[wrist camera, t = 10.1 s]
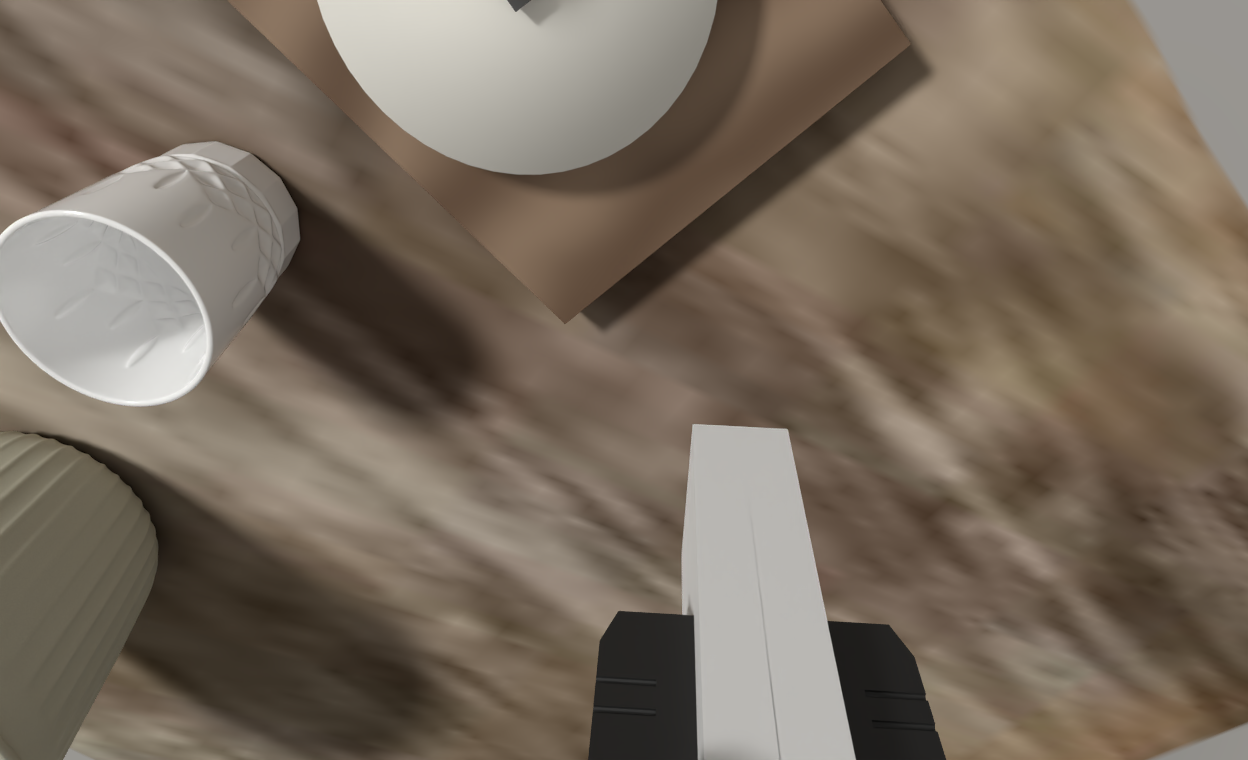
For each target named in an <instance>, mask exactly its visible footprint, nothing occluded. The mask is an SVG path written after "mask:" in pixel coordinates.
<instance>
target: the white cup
mask: <svg viewBox="0 0 1248 760" xmlns="http://www.w3.org/2000/svg"><path fill="white" fill-rule="evenodd" d="M299 242H300V230H299V219H298V209H297V207H296V205H295V203H294V201H293V200H292V198H291V196H290V194H289V192H288V191H287V189H286V187H285V185H284V184H283V182H282V180H281V178H280V177H279V176H278V175H276V174H275V173H274V172H273V171H272V170H271V169H269V168H268V167H267V166H266V165H265V164H263V163H262V162H261V161H260V160H259V159H257V158H256V157H255V156H254V155H253V154H251V153H249V152H246V151H243V150H240V149H237V148H235V147H232V146H229V145H226V144H223V143H220V142H217V141H213V142H202V143H191V144H183V145H181V146H178V147H176V148H174V149H173V150H171V151H169V152H167V153H165V154H163V155H161V156H159V157H156V158H153V159H150V160H147V161H144V162H141V163H138V164H136V165H133V166H131V167H129V168H127V169H125V170H123V171H121V172H118V173H115V174H113V175H111V176H108V177H106V178H104V179H102V180H100V181H98V182H96V183H94V184H92V185H90V186H88V187H86V188H84V189H82V190H80V191H78V192H75V193H73V194H71V195H69V196H67V197H65V198H63V199H61V200H59V201H57V202H55V203H53V204H51V205H49V206H46V207H44V208H42V209H40V210H38V211H36V212H34V213H32V214H30V215H27V216H25V217H23V218H21V219H19V220H18V221H16V222H14V223H13V224H12V225H10V226H9V227H8V228H7V229H6V230H5V231H4V232H3V233H2V234H1V235H0V321H1V323H2V324H3V326H4V328H5V329H6V331H7V332H8V334H9V335H10V337H11V338H12V339H13V341H14V342H15V343H16V344H17V346H18V347H19V348H20V349H21V350H22V351H23V352H24V353H25V354H26V355H27V356H28V357H29V358H30V359H31V360H32V361H33V362H34V363H35V364H36V365H37V366H38V367H40V368H41V369H42V370H43V371H45V372H46V373H47V374H49V375H50V376H52V377H53V378H54V379H56V380H58V381H59V382H61V383H62V384H64V385H66V386H68V387H70V388H71V389H73V390H75V391H77V392H80V393H82V394H84V395H87V396H89V397H92V398H95V399H98V400H101V401H104V402H108V403H112V404H117V405H124V406H136V407H144V406H155V405H161V404H165V403H168V402H171V401H174V400H176V399H179V398H181V397H182V396H184V395H186V394H187V393H189V392H190V391H191V390H193V389H194V388H195V387H196V386H197V385H198V384H199V383H200V382H201V380H202V379H203V378H204V376H205V375H206V374H207V373H208V371H209V370H210V369H211V367H212V366H213V365H214V364H215V362H216V361H217V360H218V359H219V357H220V356H221V355H222V354H223V352H224V351H225V350H226V349H227V347H228V346H229V345H230V344H231V342H232V341H233V340H234V338H235V337H236V336H237V335H238V333H239V332H240V331H241V330H242V328H243V327H244V326H245V325H246V323H247V322H248V321H249V320H250V318H251V317H252V316H253V314H254V313H255V312H256V310H257V309H258V307H259V306H260V304H261V303H262V302H263V301H264V299H265V298H266V296H267V295H268V294H269V292H270V291H271V289H272V288H273V286H274V285H275V283H276V281H277V279H278V278H279V277H280V275H281V274H282V273H283V272H284V270H285V269H286V268H287V267H288V265H289V263H290V261H291V259H292V257H293V255H294V252H295V250H296V248H297V246H298V244H299Z"/></svg>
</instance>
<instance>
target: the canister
mask: <svg viewBox="0 0 1248 760" xmlns="http://www.w3.org/2000/svg"><path fill="white" fill-rule="evenodd" d="M157 567H158V540H157V538H156V530H155V527H154V525H153V524H152V522H151V520H150V514H149V512H148V511H147V510H146V509H144V507H143V505H142V501H141V499H140V498H138V497H137V496H136V495H135V494H134V493H133V491H132V489H131V487H130V486H128V485H126V484H125V483H124V482H123V481H122V480H121V479H120V477H119V475H117V474H115V473H113V472H111V471H110V470H109V469H108V468H107V467H106V466H105V464H102V463H99V462H97V461H96V460H94V459H93V458H92V457H91V456H90V455H89V454H85V453H82V452H80V451H78V450H76V449H75V448H74V447H73V446H70V445H69V446H68V445H64V444H61V443H59V442H58V441H57V440H55V439H47V438H43V437H41V436H39V435H37V434H24V433H21V432H19V431H7V432H3V431H0V760H63V758H64V757H65V755H66V753H67V751H68V749H69V747H70V745H71V744H72V742H73V740H74V738H75V736H76V734H77V732H78V730H79V729H80V727H81V725H82V723H83V721H84V719H85V717H86V715H87V714H88V712H89V710H90V708H91V706H92V704H93V703H94V701H95V699H96V697H97V695H98V693H99V692H100V690H101V688H102V686H103V684H104V682H105V680H106V679H107V677H108V675H109V673H110V671H111V669H112V667H113V665H114V663H115V662H116V660H117V658H118V656H119V654H120V652H121V650H122V648H123V646H124V644H125V642H126V640H127V638H128V636H129V634H130V632H131V630H132V628H133V626H134V624H135V622H136V620H137V618H138V616H139V614H140V612H141V610H142V608H143V606H144V604H145V602H146V600H147V598H148V596H149V593H150V591H151V588H152V586H153V582H154V578H155V574H156V571H157Z"/></svg>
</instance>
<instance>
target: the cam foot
mask: <svg viewBox="0 0 1248 760" xmlns="http://www.w3.org/2000/svg"><path fill="white" fill-rule="evenodd" d="M317 1H318V5H319V8H320V11H321V14H322V17H323V20H324V22H325V25H326V27H327V29H328V31H329V34H330V36H331V38H332V41H333V43H334V45H335V47H336V49H337V50H338V52H339V54H340V56H341V57H342V59H343V61H344V62H345V64H346V66H347V68H348V69H349V71H350V72H351V74H352V75H353V76H354V78H355V79H356V80H357V82H358V83H359V85H360V86H361V87H362V89H363V90H364V91H365V93H366V94H367V95H368V96H369V97H370V98H371V99H372V100H373V101H374V103H375V104H376V105H377V106H378V107H379V108H380V109H381V110H382V111H383V112H384V113H385V114H386V115H387V116H388V117H389V118H391V119H392V120H393V121H394V122H395V123H396V124H397V125H398V126H400V127H401V128H402V129H403V130H404V131H406V132H407V133H409V134H410V135H412V136H413V137H414V138H416V139H417V140H419V141H420V142H422V143H423V144H425V145H426V146H428V147H430V148H432V149H434V150H436V151H438V152H439V153H441V154H443V155H445V156H447V157H450V158H452V159H455V160H457V161H460V162H462V163H465V164H467V165H470V166H474V167H478V168H482V169H486V170H489V171H493V172H501V173H509V174H516V175H542V174H549V173H557V172H564V171H568V170H572V169H576V168H579V167H583V166H587V165H589V164H592V163H594V162H597V161H599V160H601V159H604V158H606V157H609V156H611V155H612V154H614V153H616V152H617V151H619V150H621V149H623V148H624V147H626V146H628V145H629V144H631V143H632V142H634V141H635V140H636V139H637V138H639V137H640V136H641V135H643V134H644V133H645V132H646V131H648V130H649V129H650V128H651V127H652V126H653V125H654V124H655V123H656V122H657V121H658V120H659V119H660V118H661V117H662V116H663V115H664V114H665V113H666V112H667V111H668V110H669V108H670V107H671V106H672V104H673V103H674V102H675V100H676V99H677V98H678V96H679V95H680V94H681V93H682V91H683V90H684V88H685V86H686V85H687V83H688V81H689V79H690V78H691V76H692V74H693V72H694V71H695V69H696V67H697V65H698V63H699V60H700V58H701V55H702V53H703V51H704V48H705V46H706V44H707V41H708V37H709V34H710V30H711V27H712V23H713V20H714V16H715V12H716V5H717V0H317Z"/></svg>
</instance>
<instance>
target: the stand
mask: <svg viewBox="0 0 1248 760" xmlns="http://www.w3.org/2000/svg"><path fill="white" fill-rule="evenodd" d="M227 1H229V2H230V3H231V4H232V5H233V6H234V7H235V8H236V9H237V10H238V11H239V12H240V13H241V14H242V15H243V16H244V17H245V18H246V19H247V20H248V21H249V22H250V23H251V24H253V25H254V26H255V27H256V28H257V29H258V30H259V31H260V32H261V33H262V34H263V35H264V36H265V37H266V38H267V39H268V40H269V41H270V42H271V43H272V44H273V45H274V46H275V47H277V48H278V49H279V50H280V51H281V52H282V53H283V54H284V55H285V56H286V57H287V58H288V59H289V60H290V61H291V62H292V63H293V64H294V65H295V66H296V67H297V68H298V69H299V70H301V71H302V72H303V73H304V74H305V75H306V76H307V77H308V78H309V79H310V80H311V81H312V82H313V83H314V84H315V85H316V86H317V87H318V88H319V89H320V90H321V91H322V92H323V93H324V94H326V95H327V96H328V97H329V98H330V99H331V100H332V101H333V102H334V103H335V104H336V105H337V106H338V107H339V108H340V109H341V110H342V111H343V112H344V113H345V114H346V115H347V116H348V117H350V118H351V119H352V120H353V121H354V122H355V123H356V124H357V125H358V126H359V127H360V128H361V129H362V130H363V131H364V132H365V133H366V134H367V135H368V136H369V137H370V138H371V139H372V140H374V141H375V142H376V143H377V144H378V145H379V146H380V147H381V148H382V149H383V150H384V151H385V152H386V153H387V154H388V155H389V156H390V157H391V158H392V159H393V160H394V161H395V162H396V163H398V164H399V165H400V166H401V167H402V168H403V169H404V170H405V171H406V172H407V173H408V174H409V175H410V176H411V177H412V178H413V179H414V180H415V181H416V182H417V183H418V184H419V185H420V186H422V187H423V188H424V189H425V190H426V191H427V192H428V193H429V194H430V195H431V196H432V197H433V198H434V199H435V200H436V201H437V202H438V203H439V204H440V205H441V206H442V207H443V208H444V209H446V210H447V211H448V212H449V213H450V214H451V215H452V216H453V217H454V218H455V219H456V220H457V221H458V222H459V223H460V224H461V225H462V226H463V227H464V228H465V229H466V230H467V231H468V232H469V233H471V234H472V235H473V236H474V237H475V238H476V239H477V240H478V241H479V242H480V243H481V244H482V245H483V246H484V247H485V248H486V249H487V250H488V251H489V252H490V253H491V254H492V255H493V256H495V257H496V258H497V259H498V260H499V261H500V262H501V263H502V264H503V265H504V266H505V267H506V268H507V269H508V270H509V271H510V272H511V273H512V274H513V275H514V276H515V277H516V278H517V279H519V280H520V281H521V282H522V283H523V284H524V285H525V286H526V287H527V288H528V289H529V290H530V291H531V292H532V293H533V294H534V295H535V296H536V297H537V298H538V299H539V300H540V301H541V302H543V303H544V304H545V305H546V306H547V307H548V308H549V309H550V310H551V311H552V312H553V313H554V314H555V315H556V316H557V317H558V318H559V319H560V320H561V321H562V322H563V323H564V324H566V323H567V322H568V321H569V320H571V319H572V318H573V317H574V316H576V315H577V314H578V313H579V312H581V311H582V310H583V309H584V308H586V307H587V306H588V305H589V304H591V303H592V302H593V301H594V300H595V299H597V298H598V297H599V296H600V295H602V294H603V293H604V292H605V291H607V290H608V289H609V288H610V287H612V286H613V285H614V284H615V283H616V282H618V281H619V280H620V279H621V278H623V277H624V276H625V275H626V274H628V273H629V272H630V271H631V270H633V269H634V268H635V267H636V266H638V265H639V264H640V263H641V262H642V261H644V260H645V259H646V258H647V257H649V256H650V255H651V254H652V253H654V252H655V251H656V250H657V249H659V248H660V247H661V246H662V245H663V244H665V243H666V242H667V241H668V240H670V239H671V238H672V237H673V236H675V235H676V234H677V233H678V232H680V231H681V230H682V229H683V228H684V227H686V226H687V225H688V224H689V223H691V222H692V221H693V220H694V219H696V218H697V217H698V216H699V215H701V214H702V213H703V212H704V211H706V210H707V209H708V208H709V207H710V206H712V205H713V204H714V203H715V202H717V201H718V200H719V199H720V198H722V197H723V196H724V195H725V194H727V193H728V192H729V191H730V190H731V189H733V188H734V187H735V186H736V185H738V184H739V183H740V182H741V181H743V180H744V179H745V178H746V177H748V176H749V175H750V174H751V173H753V172H754V171H755V170H756V169H757V168H759V167H760V166H761V165H762V164H764V163H765V162H766V161H767V160H769V159H770V158H771V157H772V156H774V155H775V154H776V153H777V152H778V151H780V150H781V149H782V148H783V147H785V146H786V145H787V144H788V143H790V142H791V141H792V140H793V139H795V138H796V137H797V136H798V135H800V134H801V133H802V132H803V131H804V130H806V129H807V128H808V127H809V126H811V125H812V124H813V123H814V122H816V121H817V120H818V119H819V118H821V117H822V116H823V115H824V114H825V113H827V112H828V111H829V110H830V109H832V108H833V107H834V106H835V105H837V104H838V103H839V102H840V101H842V100H843V99H844V98H845V97H847V96H848V95H849V94H850V93H851V92H853V91H854V90H855V89H856V88H858V87H859V86H860V85H861V84H863V83H864V82H865V81H866V80H868V79H869V78H870V77H871V76H872V75H874V74H875V73H876V72H877V71H879V70H880V69H881V68H882V67H884V66H885V65H886V64H887V63H889V62H890V61H891V60H892V59H893V58H895V57H896V56H897V55H898V54H900V53H901V52H902V51H903V50H905V49H906V48H907V47H908V46H910V45H911V43H910V42H909V40H908V39H907V37H906V36H905V34H904V33H903V32H902V30H901V29H900V27H899V26H898V24H897V23H896V22H895V20H894V19H893V17H892V16H891V14H890V13H889V12H888V10H887V9H886V7H885V6H884V4H883V3H882V2H881V0H717V5H716V12H715V16H714V20H713V23H712V27H711V30H710V34H709V37H708V41H707V44H706V46H705V48H704V51H703V53H702V55H701V58H700V60H699V63H698V65H697V67H696V69H695V71H694V72H693V74H692V76H691V78H690V79H689V81H688V83H687V85H686V86H685V88H684V90H683V91H682V93H681V94H680V95H679V96H678V98H677V99H676V100H675V102H674V103H673V104H672V106H671V107H670V108H669V110H668V111H667V112H666V113H665V114H664V115H663V116H662V117H661V118H660V119H659V120H658V121H657V122H656V123H655V124H654V125H653V126H652V127H651V128H650V129H649V130H648V131H646V132H645V133H644V134H643V135H641V136H640V137H639V138H637V139H636V140H635V141H634V142H632V143H631V144H629V145H628V146H626V147H624V148H623V149H621V150H619V151H617V152H616V153H614V154H612V155H611V156H609V157H606V158H604V159H601V160H599V161H597V162H594V163H592V164H589V165H587V166H583V167H579V168H576V169H572V170H568V171H564V172H557V173H549V174H542V175H516V174H509V173H501V172H493V171H489V170H486V169H482V168H478V167H474V166H470V165H467V164H465V163H462V162H460V161H457V160H455V159H452V158H450V157H447V156H445V155H443V154H441V153H439V152H438V151H436V150H434V149H432V148H430V147H428V146H426V145H425V144H423V143H422V142H420V141H419V140H417V139H416V138H414V137H413V136H412V135H410V134H409V133H407V132H406V131H404V130H403V129H402V128H401V127H400V126H398V125H397V124H396V123H395V122H394V121H393V120H392V119H391V118H389V117H388V116H387V115H386V114H385V113H384V112H383V111H382V110H381V109H380V108H379V107H378V106H377V105H376V104H375V103H374V101H373V100H372V99H371V98H370V97H369V96H368V95H367V94H366V93H365V91H364V90H363V89H362V87H361V86H360V85H359V83H358V82H357V80H356V79H355V78H354V76H353V75H352V74H351V72H350V71H349V69H348V68H347V66H346V64H345V62H344V61H343V59H342V57H341V56H340V54H339V52H338V50H337V49H336V47H335V45H334V43H333V41H332V38H331V36H330V34H329V31H328V29H327V27H326V25H325V22H324V20H323V17H322V14H321V11H320V8H319V5H318V1H317V0H227Z"/></svg>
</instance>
